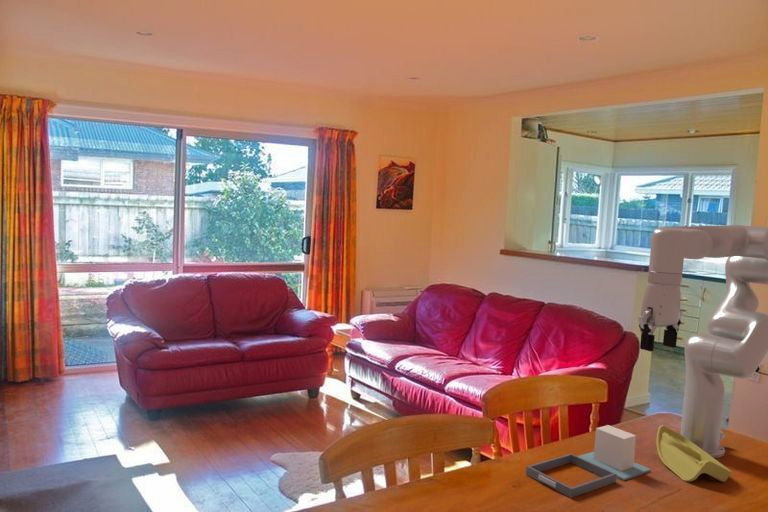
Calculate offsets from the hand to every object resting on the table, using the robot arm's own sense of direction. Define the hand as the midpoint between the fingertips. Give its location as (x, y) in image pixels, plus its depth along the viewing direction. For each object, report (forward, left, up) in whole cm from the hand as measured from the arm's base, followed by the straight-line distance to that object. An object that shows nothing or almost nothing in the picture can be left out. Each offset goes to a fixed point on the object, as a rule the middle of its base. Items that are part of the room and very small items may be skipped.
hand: (658, 348), depth 154 cm
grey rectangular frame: (+23, -5, -30) cm, 38 cm away
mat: (+7, -5, -30) cm, 31 cm away
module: (+7, -5, -30) cm, 31 cm away
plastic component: (-10, +5, -31) cm, 33 cm away
